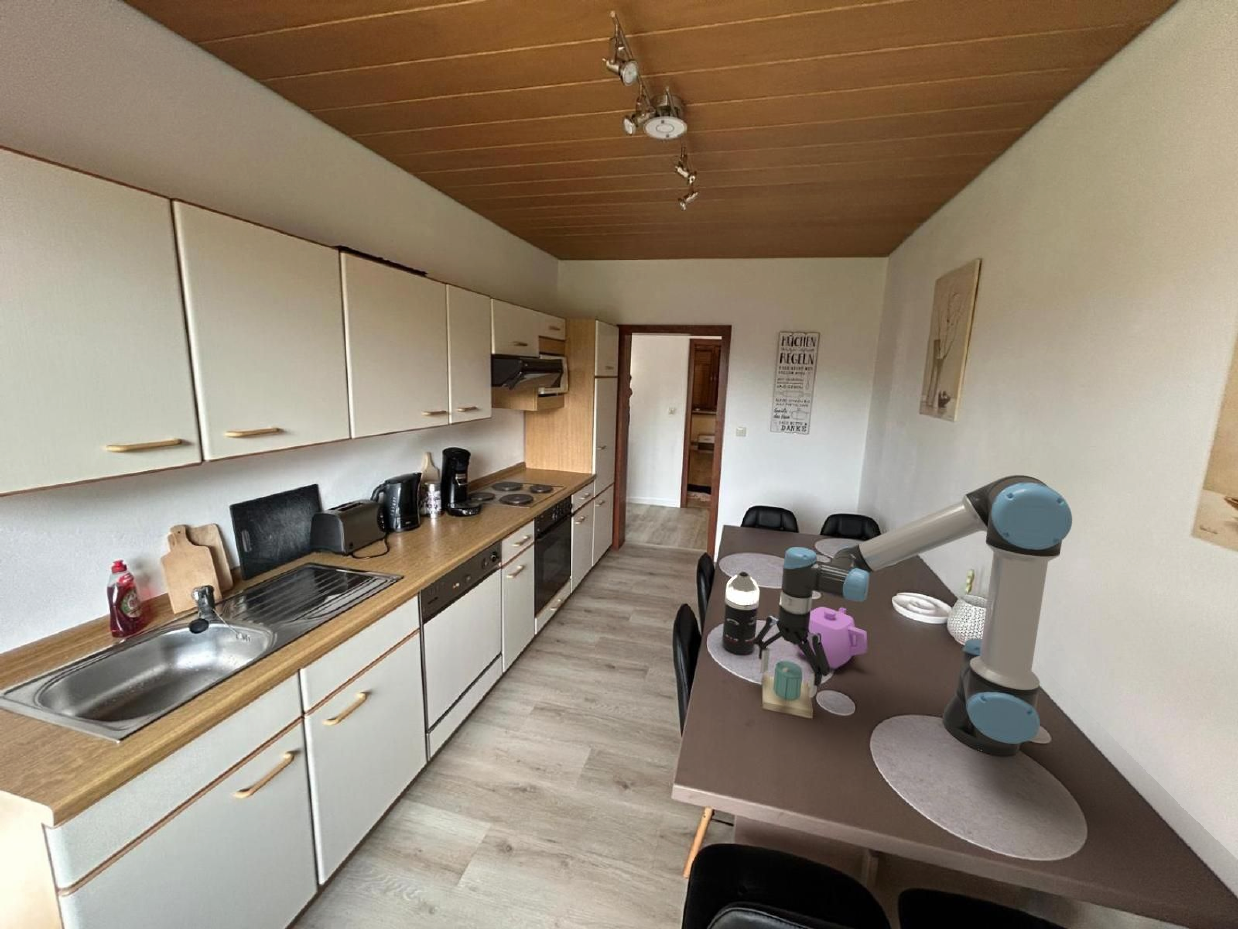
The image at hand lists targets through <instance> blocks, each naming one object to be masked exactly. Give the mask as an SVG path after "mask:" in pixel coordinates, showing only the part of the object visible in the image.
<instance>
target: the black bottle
mask: <svg viewBox="0 0 1238 929" xmlns="http://www.w3.org/2000/svg"><path fill="white" fill-rule="evenodd" d="M759 600H760V586H759V584H758V583H757V581H756V580H755V579H754V577H752V576H751V575H750V574H749V573H748V572H747V571H741V572H738V573H737V574H735V575H733V576H731V578H729V579H728V582H727V583H726V586H725V595H724V610H723V611H724V612H723V613H724V614H723V623H722V624H723V626H722V638H721V640H722V641H721V642H722V645H723V647H724V648H725V649H726V651H727V650H728V651H729V652H731V653H734V654H738V655H746V653H747V654H749V653H751V652H753V650H754V649H755V646H756V645H755V644H754V643H753V641H754V639H755V638H756V636H757V635H756V632H757V623H758V622H757V621H758V608H759V605H760V601H759Z"/></svg>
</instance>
